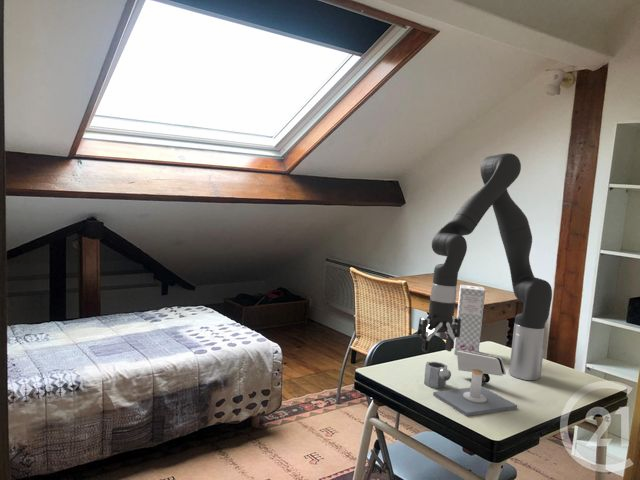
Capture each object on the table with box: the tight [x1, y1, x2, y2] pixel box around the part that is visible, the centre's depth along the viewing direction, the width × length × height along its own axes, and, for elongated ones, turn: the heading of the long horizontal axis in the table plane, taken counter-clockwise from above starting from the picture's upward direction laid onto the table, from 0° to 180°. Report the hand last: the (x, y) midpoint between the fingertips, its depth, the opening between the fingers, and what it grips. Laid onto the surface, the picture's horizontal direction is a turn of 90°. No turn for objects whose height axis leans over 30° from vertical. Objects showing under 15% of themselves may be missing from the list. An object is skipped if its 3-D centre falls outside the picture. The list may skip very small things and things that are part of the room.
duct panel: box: [432, 369, 518, 417], centre depth 139 cm, size 18×14×9 cm
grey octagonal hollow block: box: [423, 361, 452, 389], centre depth 150 cm, size 6×8×6 cm
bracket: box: [456, 350, 507, 386], centre depth 154 cm, size 4×10×15 cm
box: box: [453, 284, 486, 356], centre depth 186 cm, size 8×8×25 cm
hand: (436, 351), depth 150 cm, fingers open, 8 cm apart
